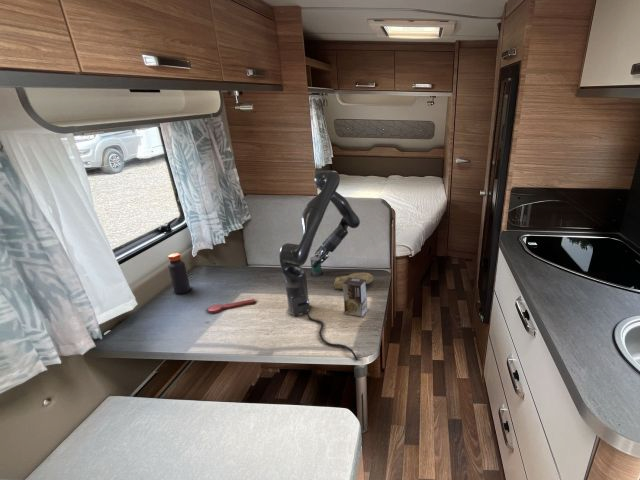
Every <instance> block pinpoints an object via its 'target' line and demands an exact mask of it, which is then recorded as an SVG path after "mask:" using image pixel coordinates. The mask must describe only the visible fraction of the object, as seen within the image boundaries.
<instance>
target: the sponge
mask: <svg viewBox="0 0 640 480" xmlns="http://www.w3.org/2000/svg"><path fill="white" fill-rule="evenodd" d="M349 277H350V278H357V279H364V280H366V285H369V284H371V283H372V282H373V281H374V274H371V273H370V272H364V271H363V272H352V273H350V274H349V275H341V276H337V277H335V279H334V282H333V287H334V288H335V290H343V283H344V282H345V281H346V280H347V278H349Z"/></svg>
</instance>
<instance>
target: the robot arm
mask: <svg viewBox="0 0 640 480" xmlns="http://www.w3.org/2000/svg"><path fill="white" fill-rule="evenodd" d="M340 181H341V177H340V174H339V172H337V171H336V170H318V171H317V172H315V175H314V183H315V185H316V187H317V188H318V189H319V190H320V191H319V192H318V194H317V195H315V196H314V197H313V198H312V199H310V200H309V201H308V203H307V204H306V205H305V206H304V210H303V211H302V213H301V216H300V224H301V229H302V237H301V238H300V239H301V240H300V241H299V244H296V243H289V242H288V243H284V244H283V245H282V246H281V247H280V249H279V256H278V257H279V263H280V268H281V274H282V275H283V277H284V283H285V291H286V298H287V307H288V313H289V314H290V315H292V316H293V317H298V316H302V315H306V316H307V317H308V319H309V320H310V321H312V322H316V323H319V324H321V327H320V329H319V333H318V334H319V338H320V340H321V341H322V342H323V343H324V344H326V345H328V346H332V347H333V346H334V347H342V348H345V349H346V350H348V351H349V352H350V353H351V354H352V356H353V357H354V359H355V361H358V360H359V359H358V356H357V355H356V353H355V351H353V349H352V348H350V347H349V346H347V345H345V344H339V343H331V342H328V341H326V340H325V339H324V338H323V336H322V330H323V328H324V323H323V322H322V321H321V320H318V319H314V318H312V317H311V316H310V313H309V312H310V310H311V308H310V307H311V306H310V300H309V289H308V281H307V280H308V279H307V271H306V270H305V268H303V267H302V266H304V265H305V263H306V262H307V260H308V258H309V255H310V252H311V249H312V245H313V242H314V239H315V237H316V235H317V232H318V229H319V227H320V225H321V223H322V220H323V219H324V216H325V213H326V210H327V209H328V207H329V204H330V202H331V203H332V204H333V206H334V207H335V209H336V210H337V211H338V213H339V214H340V216H341V219H340V221H339V223H338V225H337V227H336V228H335V229H334V230H333V232H331V233H330V234H329V235H328V236H327V238H326V239H325V240H324V241H323V242H322V243H321V244H322V245H319V247H318V249H317V250H315V252H314V256H318V259H317V261H316V262H315V263H314V264H313V265H312V266H313V267H314V268H316V267H317V266H318V264H319V263H321V265H322V264H324V262H325V261H326V260H327V259H328V258H329V257H330V255H329V253H333V252H334V251H335V250H336V249H337V248H338V247H339V245H340V244H341V243H342V241H343V240H344V239H345V238H346V237H347V236H348V234H349V231H348V228H350V229H357V228H359V226H360V224H361V220H360V218H359V216H358V214H356V212H355V211H354V210H353V208H352V206H351V204H350V203H349V201H348V200H347V199H346V197H344V196H343V195H341V194H340V193H339V192H338V191H337V190H338V188H339V185H340ZM360 398H361V399H360V400H361V425H362V431H365V413H364V411H365V410H364V392H362V393H361V397H360Z"/></svg>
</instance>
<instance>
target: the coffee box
mask: <svg viewBox="0 0 640 480" xmlns="http://www.w3.org/2000/svg"><path fill="white" fill-rule="evenodd" d="M342 292H343V293H342V294H343V305H344V314H346V315H351V316H357V317H364V316H365V314H366V312H367V311H368V293H367V284H366V280H364V279H357V278H350V277H349V278H347V280H346V281H345V282H344V283H343V289H342Z"/></svg>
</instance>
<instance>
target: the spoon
mask: <svg viewBox="0 0 640 480" xmlns="http://www.w3.org/2000/svg"><path fill="white" fill-rule="evenodd" d="M251 304H252V305H253V304H255V298H252V299H247V300H242V301H235V302H231V303H225V304H222V303H215V304H212V305H210V306H208V308H207V312H208V313H210V314H216V313H219V312H221V311H222V310H227V309H231V308H236V307H242V306H246V305H251Z"/></svg>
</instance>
